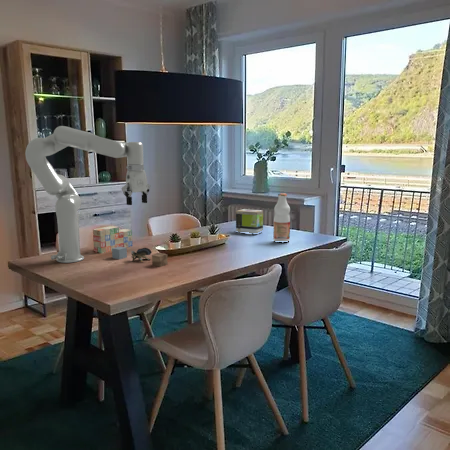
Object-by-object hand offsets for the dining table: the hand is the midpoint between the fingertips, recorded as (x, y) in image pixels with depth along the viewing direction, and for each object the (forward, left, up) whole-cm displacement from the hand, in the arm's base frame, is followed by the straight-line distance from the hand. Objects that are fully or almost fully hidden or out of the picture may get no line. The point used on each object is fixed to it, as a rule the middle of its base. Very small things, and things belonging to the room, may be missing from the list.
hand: (137, 203), depth 214 cm
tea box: (+87, -14, -27) cm, 92 cm away
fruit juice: (+73, -43, -27) cm, 89 cm away
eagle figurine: (-3, -4, -27) cm, 28 cm away
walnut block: (-4, -17, -27) cm, 32 cm away
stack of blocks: (+8, +26, -27) cm, 39 cm away
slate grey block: (-4, +9, -27) cm, 29 cm away
